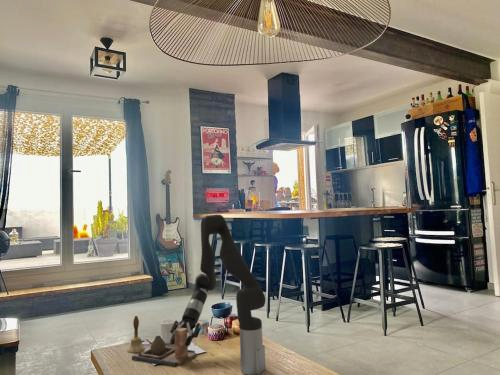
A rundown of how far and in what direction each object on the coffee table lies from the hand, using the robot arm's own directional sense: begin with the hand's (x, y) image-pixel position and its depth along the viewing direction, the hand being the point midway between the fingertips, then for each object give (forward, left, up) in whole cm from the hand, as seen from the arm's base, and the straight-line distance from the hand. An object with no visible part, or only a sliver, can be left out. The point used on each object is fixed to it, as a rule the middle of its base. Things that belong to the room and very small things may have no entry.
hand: (179, 344), depth 168 cm
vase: (+13, -1, -7) cm, 15 cm away
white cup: (+21, -19, -7) cm, 30 cm away
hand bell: (+29, -4, -7) cm, 30 cm away
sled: (+7, -1, -7) cm, 10 cm away
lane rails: (+10, -1, -7) cm, 12 cm away
